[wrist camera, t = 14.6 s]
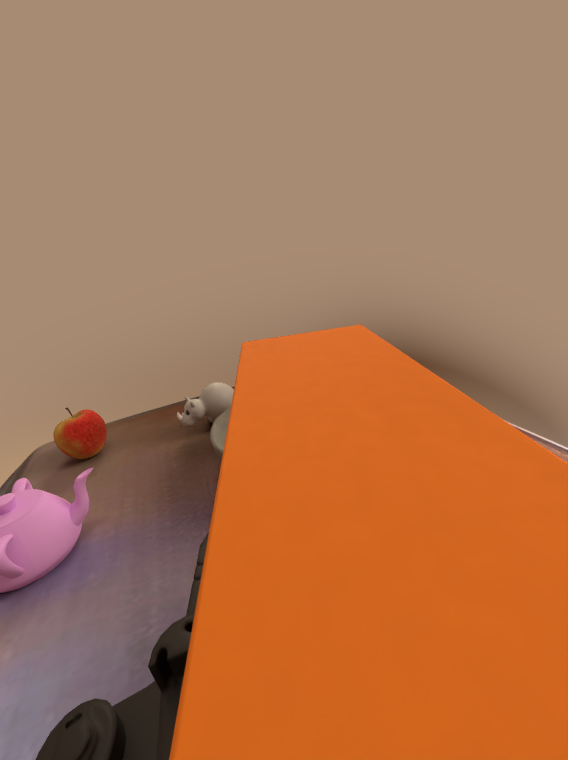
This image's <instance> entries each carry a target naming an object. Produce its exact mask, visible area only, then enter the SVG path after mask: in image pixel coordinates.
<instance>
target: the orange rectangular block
mask: <svg viewBox="0 0 568 760" xmlns="http://www.w3.org/2000/svg"><path fill="white" fill-rule="evenodd" d="M169 760H568V463H566V462H565V461H563V460H562V459H560V458H559V457H557V456H556V455H554V454H553V453H551V452H550V451H548V450H547V449H545V448H544V447H543V446H541V445H540V444H538V443H537V442H535V441H534V440H532V439H531V438H529V437H528V436H526V435H525V434H523V433H522V432H520V431H519V430H517V429H516V428H514V427H513V426H511V425H510V424H508V423H507V422H505V421H504V420H502V419H501V418H499V417H498V416H496V415H495V414H493V413H492V412H490V411H489V410H487V409H486V408H484V407H483V406H481V405H480V404H478V403H477V402H475V401H474V400H472V399H471V398H469V397H468V396H467V395H465V394H464V393H462V392H461V391H459V390H458V389H456V388H455V387H453V386H452V385H450V384H448V383H447V382H446V381H444V380H443V379H441V378H440V377H438V376H437V375H435V374H434V373H432V372H431V371H429V370H428V369H426V368H425V367H423V366H422V365H420V364H419V363H417V362H416V361H414V360H413V359H411V358H410V357H408V356H407V355H406V354H404V353H403V352H401V351H400V350H398V349H396V348H395V347H394V346H392V345H390V344H389V343H388V342H386V341H385V340H383V339H381V338H380V337H379V336H377V335H376V334H374V333H373V332H371V331H370V330H368V329H367V328H365V327H364V326H362V325H354V326H348V327H341V328H335V329H328V330H321V331H315V332H308V333H301V334H295V335H288V336H281V337H275V338H268V339H262V340H255V341H248V342H243V344H242V348H241V354H240V360H239V365H238V371H237V377H236V382H235V388H234V393H233V399H232V405H231V410H230V416H229V422H228V427H227V433H226V439H225V444H224V450H223V456H222V462H221V467H220V473H219V479H218V484H217V490H216V496H215V501H214V507H213V513H212V518H211V524H210V530H209V535H208V541H207V547H206V552H205V558H204V564H203V569H202V575H201V581H200V586H199V592H198V598H197V604H196V609H195V615H194V621H193V626H192V632H191V638H190V643H189V649H188V655H187V660H186V666H185V672H184V677H183V683H182V689H181V694H180V700H179V706H178V711H177V717H176V723H175V728H174V734H173V740H172V746H171V751H170V757H169Z"/></svg>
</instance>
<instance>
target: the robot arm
mask: <svg viewBox="0 0 568 760" xmlns="http://www.w3.org/2000/svg"><path fill="white" fill-rule="evenodd" d="M208 535H209V532H208V534H207V535H206V537H205V539H204V540H203V542H202V544H201V545H200V549H199V554H198V559H197V566H196V569H195V574H194V581H193V584H192V589H191V594H190V599H189V604H188V609H187V614H186V616H185V617H184V618H182V619H180V620H178V621H177V622H175V623H173V624H172V625H171V626H170V627H169V628H168V629H167V630H166V631H165V632H164V633H163V634H162V635H161V636H160V638H159V640H158V642H157V643H156V645H155V647H154V648H153V650H152V654H151V658H150V662H149V665H148V667H149V669H150V671H151V673H152V675H153V677H154V679H155V681H154V682H153V683H152V684H150V685H149V686H147V687H146V688H144V689H142V690H141V691H139V692H137V693H135V694H134V695H132V696H130V697H128V698H127V699H125V700H123V701H121V702H120V703H118V704H116V705H114V706H113V707H112V706H111V704H110V703H109V702H108V701H107V700H101V699H93V700H90V701H87V702H84V703H82V704H80V705H79V706H77V707H76V708H75V709H73V710H72V711H71V712H69V713H68V714H67V715H65V717H64V718H63V719H62V720H61V721H60V722H59V723H58V725H57V726H56V727H55V728H54V729H53V730H52V731H51V733H50V734H49V736H48V738H47V740H46V741H45V743H44V745H43V746H42V748H41V750H40V751H39V753H38V755H37V758H36V760H169V757H170V751H171V746H172V740H173V734H174V728H175V723H176V717H177V711H178V706H179V700H180V694H181V689H182V683H183V677H184V672H185V666H186V660H187V655H188V649H189V643H190V638H191V632H192V626H193V621H194V615H195V609H196V604H197V598H198V592H199V586H200V581H201V575H202V569H203V564H204V558H205V552H206V547H207V541H208Z"/></svg>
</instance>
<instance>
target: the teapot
mask: <svg viewBox="0 0 568 760" xmlns="http://www.w3.org/2000/svg"><path fill="white" fill-rule="evenodd" d="M92 470H93V468H90V469H88V470H86V471H84V472H83V473H81V474H80V475H79V476H78V477H77V478H76V479H75V482H74V491H75V496H76V498H75V501H74V502H73V503H72V504H70V503H69V502H68V501H66V500H64V499H63V498H61V497H59V496H56V495H54V494H51V493H48V492H45V491H42V490H37V489H32V486H31V484H30V482H29V480H28V479H26V478H21V479H19V480H17V481H16V482H15V484H14V486H13V489H12V493H9V494H6V495H3V496H1V497H0V593H2V592H8V591H13V590H16V589H19V588H22V587H24V586H26V585H29V584H31V583H33V582H34V581H36V580H38V579H40V578H41V577H43V576H44V575H46V574H47V573H49V572H50V571H51V570H53V569H54V568H55V567H56V566H57V565H59V564H60V563H61V562H62V561H63V560H64V559H65V558H66V556H67V555H68V554H69V553H70V551H71V550H72V548H73V547H74V545H75V543H76V541H77V539H78V537H79V535H80V532H81V529H82V521H83V520H84V519H85V517H86V515H87V513H88V511H89V498H88V495H87V491H86V486H85V482H86V479H87V477H88V475H89V474H90V473H91V471H92Z"/></svg>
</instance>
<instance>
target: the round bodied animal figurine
mask: <svg viewBox="0 0 568 760" xmlns="http://www.w3.org/2000/svg"><path fill="white" fill-rule="evenodd" d="M233 393H234V389H233V388H231V387H230V386H228V385H227V384H224V383H220V382H216V383H211V384H209V385H208V386H206V387H205V388H204V389H203V390H202V392H201V394H200V398H199V399H193V400H190V399H189V398H188V397H185V399H186V400H187V403H186V405H185V406H184V408H185V411H184V413H182V416H181V415H180V414H179V412H178V413H177V417H178V419H179V420H180V421H181V424H182V425H183V426H185V427H191V426H193V425H194V424H195V422H196V421H198V420H201V419H202V418H204V416H205V415H207V418H208V421H209V422H210V423H214V421H215V420H216V419H217V418H218V417H219V416H220V415H221V414H222V413H223V412H225V411H226V410H227V409H229V408H230V407H231V405H232V399H233Z"/></svg>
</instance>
